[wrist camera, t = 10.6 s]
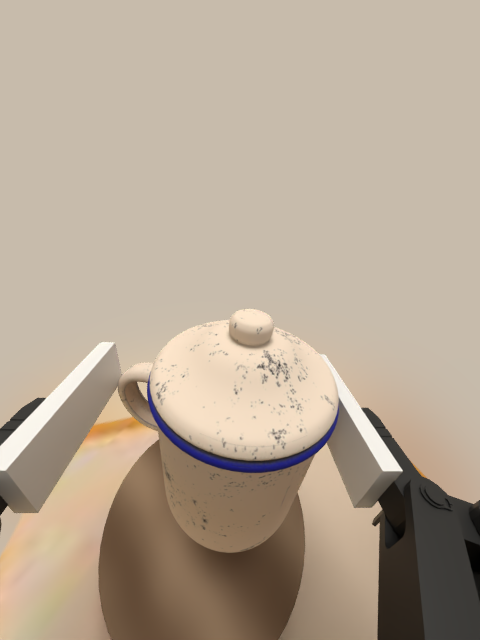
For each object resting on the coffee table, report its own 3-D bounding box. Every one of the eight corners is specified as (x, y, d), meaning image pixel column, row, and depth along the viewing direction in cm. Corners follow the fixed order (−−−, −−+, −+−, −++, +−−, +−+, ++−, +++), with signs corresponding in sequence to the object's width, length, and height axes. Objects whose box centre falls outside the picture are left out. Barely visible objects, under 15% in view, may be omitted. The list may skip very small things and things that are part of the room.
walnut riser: (221, 426, 30) (223, 397, 28) (320, 541, 21) (340, 515, 18) (93, 520, 20) (77, 490, 18) (168, 837, 10) (158, 883, 8)
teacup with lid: (293, 423, 18) (337, 298, 12) (301, 590, 10) (429, 441, 4) (164, 392, 19) (154, 268, 14) (79, 515, 11) (-22, 336, 6)
